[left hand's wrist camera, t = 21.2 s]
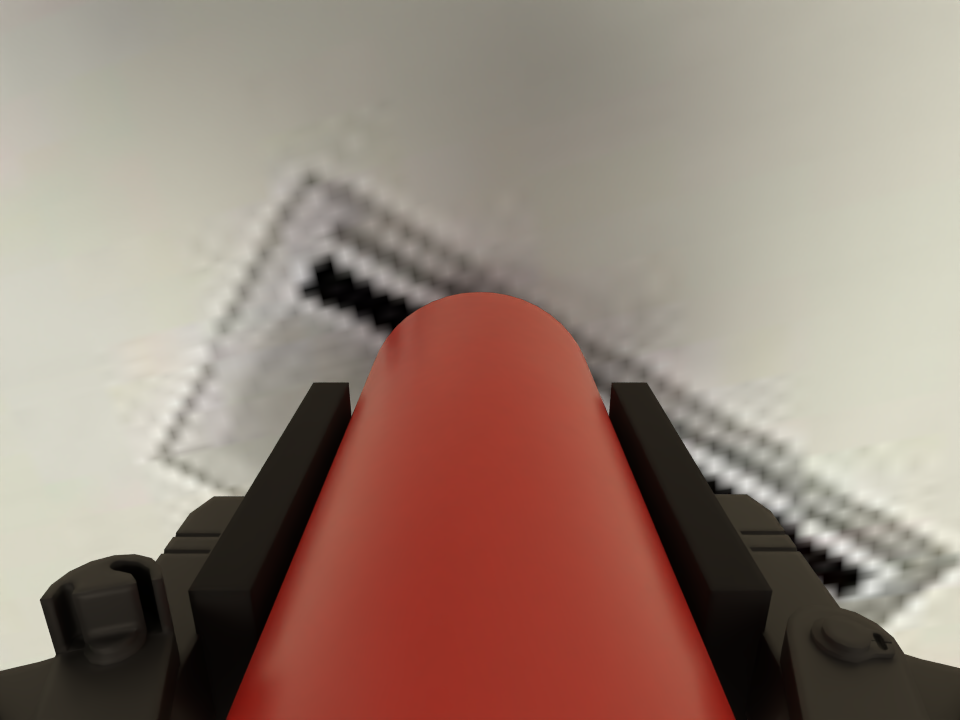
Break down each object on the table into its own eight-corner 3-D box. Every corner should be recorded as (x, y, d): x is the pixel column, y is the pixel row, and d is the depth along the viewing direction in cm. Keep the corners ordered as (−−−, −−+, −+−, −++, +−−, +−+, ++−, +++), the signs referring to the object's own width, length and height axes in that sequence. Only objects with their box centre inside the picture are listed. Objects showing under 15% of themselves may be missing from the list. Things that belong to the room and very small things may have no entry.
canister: (595, 288, 16) (885, 740, 4) (587, 492, 18) (773, 1156, 6) (359, 294, 16) (59, 756, 5) (378, 496, 18) (204, 1164, 7)
